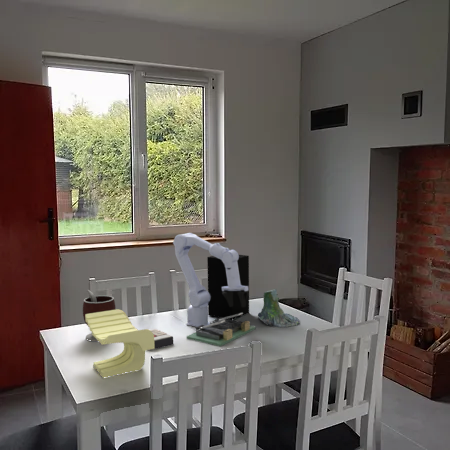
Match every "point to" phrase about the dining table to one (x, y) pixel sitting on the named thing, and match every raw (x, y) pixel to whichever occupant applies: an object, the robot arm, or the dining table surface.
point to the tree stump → (275, 312)
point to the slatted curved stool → (119, 341)
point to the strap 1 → (212, 324)
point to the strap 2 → (230, 316)
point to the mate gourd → (97, 307)
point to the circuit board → (221, 342)
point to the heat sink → (222, 329)
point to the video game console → (219, 279)
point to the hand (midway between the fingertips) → (237, 306)
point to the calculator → (161, 339)
